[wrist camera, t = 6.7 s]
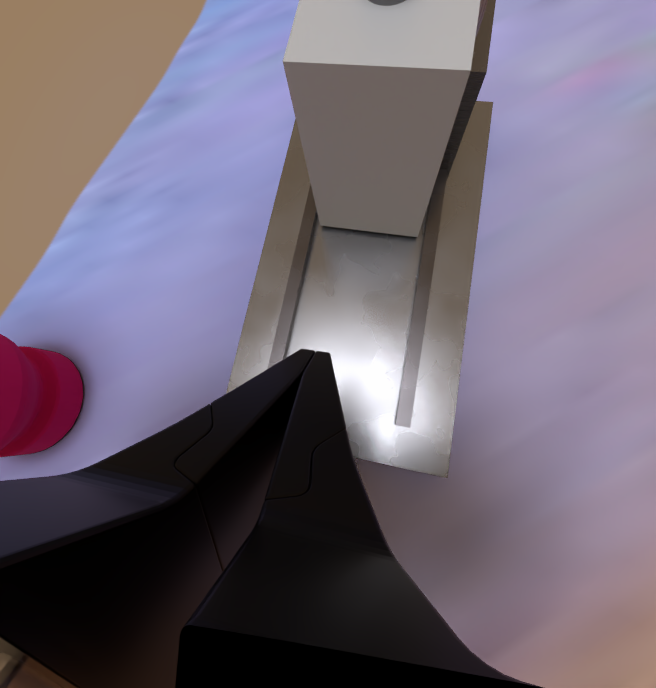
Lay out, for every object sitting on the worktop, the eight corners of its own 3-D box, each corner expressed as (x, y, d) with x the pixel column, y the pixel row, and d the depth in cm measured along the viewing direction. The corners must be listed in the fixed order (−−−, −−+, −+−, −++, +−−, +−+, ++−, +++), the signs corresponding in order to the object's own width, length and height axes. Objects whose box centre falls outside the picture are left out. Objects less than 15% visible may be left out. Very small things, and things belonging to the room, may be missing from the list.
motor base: (441, 473, 17) (607, 606, 5) (226, 426, 18) (9, 450, 7) (485, 119, 21) (634, -233, 9) (305, 107, 22) (248, -204, 11)
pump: (417, 237, 18) (499, -22, 7) (320, 225, 19) (263, -25, 8) (427, 173, 19) (516, -148, 8) (333, 164, 19) (298, -139, 9)
